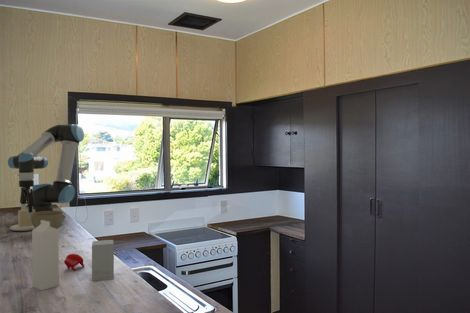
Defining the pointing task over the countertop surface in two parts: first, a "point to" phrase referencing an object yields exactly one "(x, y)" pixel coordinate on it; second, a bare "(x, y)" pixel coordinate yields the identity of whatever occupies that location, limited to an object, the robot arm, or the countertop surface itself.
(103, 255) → the supplement box
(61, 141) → the robot arm
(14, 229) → the lid
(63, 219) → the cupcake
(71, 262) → the cap
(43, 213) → the planter bowl
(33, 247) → the milk
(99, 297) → the countertop surface
